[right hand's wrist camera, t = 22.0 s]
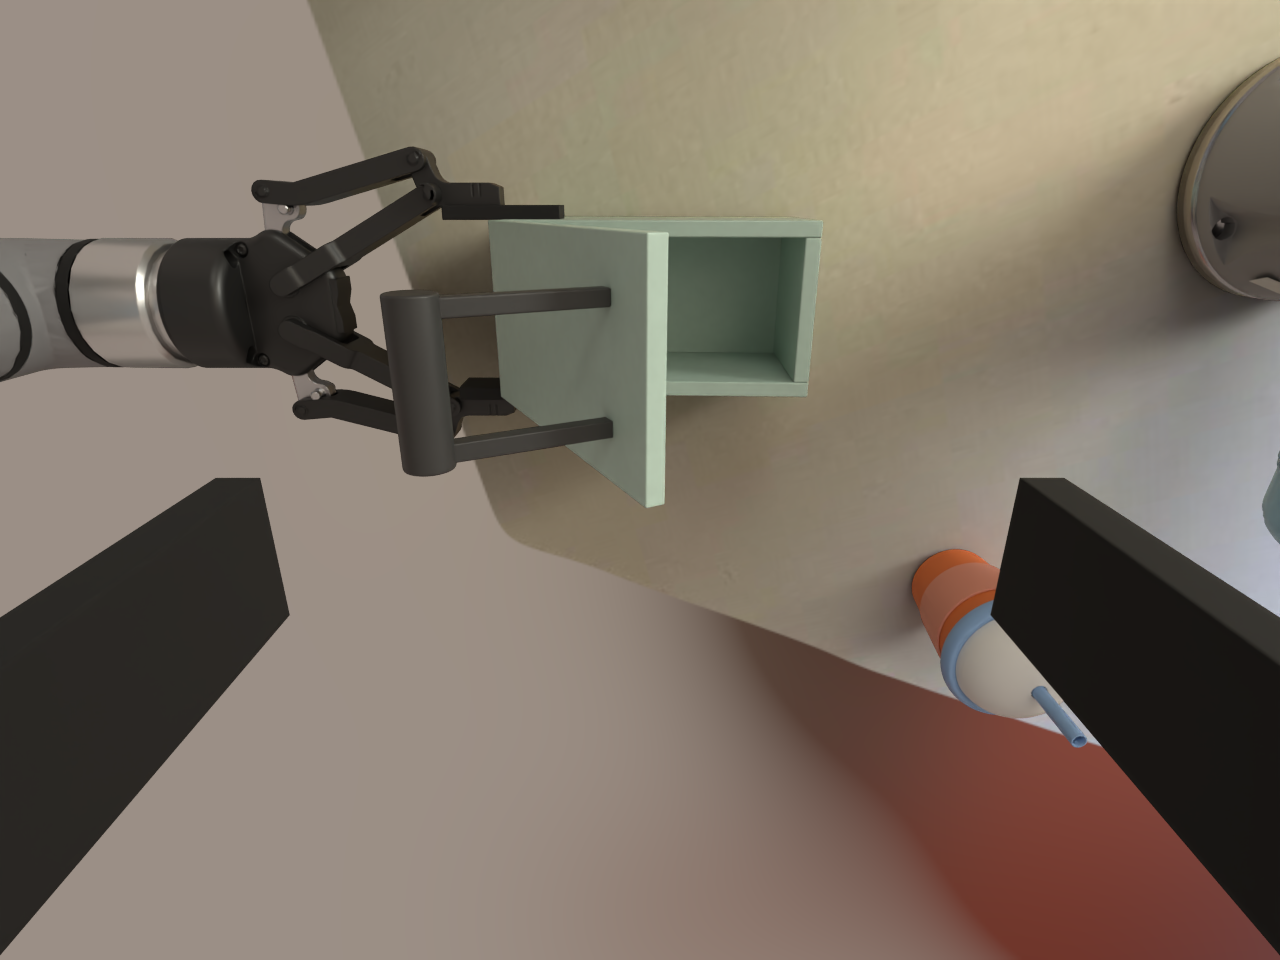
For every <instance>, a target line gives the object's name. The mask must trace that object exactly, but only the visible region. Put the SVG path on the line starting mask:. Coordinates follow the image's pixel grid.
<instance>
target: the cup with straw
mask: <svg viewBox="0 0 1280 960" xmlns="http://www.w3.org/2000/svg"><path fill="white" fill-rule="evenodd" d="M999 573H1000V569H998V568H996V567H994V566H991V565H989V564H988V563H987V562H985V561H984V560H983V559H982V558H980V557H979V556H977V555H976V554H974V553H972V552H969V551H966V550H959V549H953V550H946V551H942V552H940V553H937V554H935V555H933V556H931V557H930V558H928V559H927V560H926V561H925V562H924V563H923V564H922V565H921V566H920V567H919V568H918V570H917V571H916V573H915V575H914V578H913V582H912V594H913V597H914V600H915V602H916V604H917V606H918V608H919V610H920V615H921V619H922V622H923V624H924V626H925V628H926V630H927V632H928V634H929V636H930V639H931V641H932V643H933V645H934V647H935V649H936V651H937V653H938V655H939V657H940V659H941V660H940V663H941V671H942V675H943V678H944V680H945V683H946V685H947V686H948V688H949V689H950V691H951V692H952V693H953V694H954V696H955V697H956V698H958V699H959V700H960V701H961V702H962V703H964V704H965V705H967V706H969V707H970V708H972V709H975V710H977V711H980V712H983V713H987V714H993V715H999V716H1003V717H1009V718H1029V717H1034V716H1038V715H1041V714H1044V713H1047V714H1048V716H1049V717H1050V718H1051V719H1052V721H1053V722H1054V723H1055V724H1056V726H1057V727H1058V728H1059V729H1060V731H1061V732H1062V733H1063V734H1064V736H1065V737H1066V738H1067V740H1068V741H1069V742H1070V743H1071V744H1072V746H1074V747H1082V746H1084V745H1085V744H1086V742H1087V738H1086V736H1085V735H1084V734H1083V733H1082V732H1081V730H1080V729H1079V728H1078V727H1077V726H1076V724H1075V723H1074V722H1073V721H1072V720H1071V719H1070V717H1069V716H1068V715H1067V714H1066V713H1065V711H1064V710H1063V709H1062V708H1061V707H1060V704H1061V703H1062V702H1063V700H1062V699H1061V697H1060V696H1059V695H1058V694H1057V693H1056V692H1055V690H1054V689H1053V688H1052V687H1051V686H1050V684H1049V683H1048V682H1047V681H1046V680H1045V679H1044V677H1043V676H1042V675H1041V674H1040V673H1039V672H1038V670H1037V669H1036V668H1035V667H1034V666H1033V665H1032V663H1031V662H1030V661H1029V660H1028V659H1027V657H1026V656H1025V655H1024V654H1023V653H1022V652H1021V650H1020V649H1019V648H1018V647H1017V646H1016V645H1015V643H1014V642H1013V641H1012V640H1011V639H1010V637H1009V636H1008V635H1007V634H1006V633H1005V632H1004V630H1003V629H1002V628H1001V627H1000V626H999V625H998V623H997V622H996V621H995V620H994V619H993V618H992V616H991V615H990V614H991V610H992V605H993V601H994V596H995V591H996V587H997V582H998V577H999Z"/></svg>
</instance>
